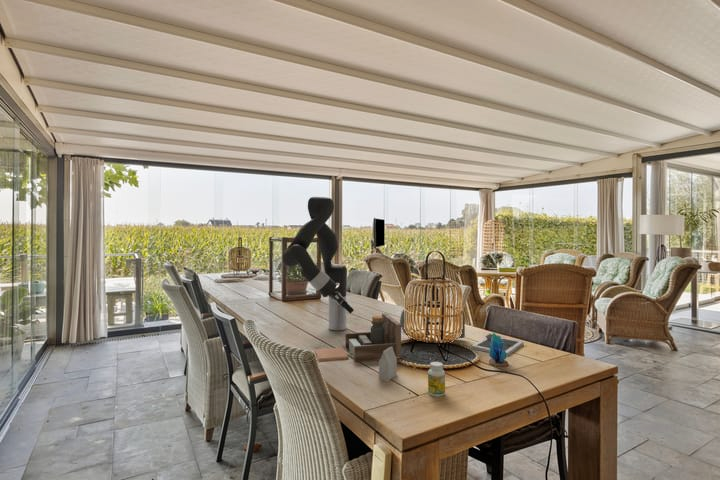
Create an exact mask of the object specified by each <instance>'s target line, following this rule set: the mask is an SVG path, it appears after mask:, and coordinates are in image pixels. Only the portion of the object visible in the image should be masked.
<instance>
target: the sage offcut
mask: <svg viewBox="0 0 720 480" xmlns="http://www.w3.org/2000/svg"><path fill="white" fill-rule="evenodd" d="M354 346H360V344H359V342H358V341H357V340H356V339H349V347H348V350H349V351H350V352H351V354H352V355H353V357H354Z"/></svg>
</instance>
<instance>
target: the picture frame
mask: <svg viewBox="0 0 720 480" xmlns="http://www.w3.org/2000/svg"><path fill="white" fill-rule="evenodd" d="M492 334H493V333H492ZM492 334H491V333H489V334H487V335H485V337H484V338H482V339H480V340H479V341H477V342H475V343H474V344H471V346H470V349H471V350H476V351H481V352H484V353H485V352H486V353H489V350H490V348H491V345H490V344H491V339H492ZM497 336H498V337H500V338H501V339H502V340H503V341H504V346H503V351H504V350H505V352H506V357H508V356H510V355H511V354H512V353H514V352H515V351H517V350H518V349H520V348H521V347H524V344H525V341H521V340H517V339H511V338H506V337H505V338H504V337H501V336H500V335H497ZM503 351H502V352H503Z"/></svg>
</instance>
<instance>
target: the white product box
mask: <svg viewBox="0 0 720 480" xmlns="http://www.w3.org/2000/svg"><path fill="white" fill-rule="evenodd" d="M397 360H398V359H397V358H396V356H395V353H394V351H393V347H390V348H388V349H387V350H385V351H383V354H382V357H381V359H380V360H378V379H379V380H383V381H386V382H389V381H390V380H392V379H393V378H394V377H395V376H397V375H398V374H397V372H398V371H397V367H398V366H397V365H398V364H397V363H398V362H397Z"/></svg>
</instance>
